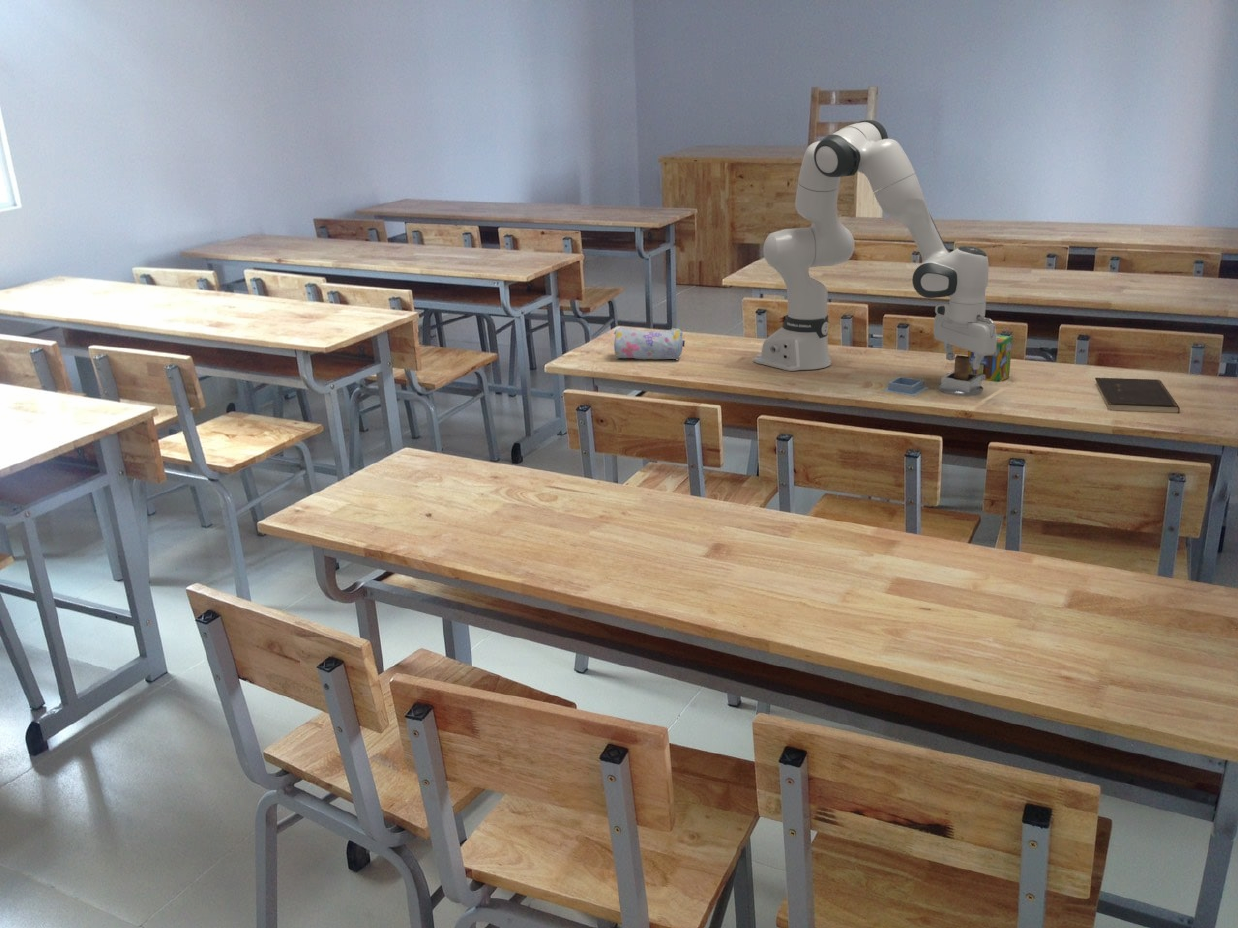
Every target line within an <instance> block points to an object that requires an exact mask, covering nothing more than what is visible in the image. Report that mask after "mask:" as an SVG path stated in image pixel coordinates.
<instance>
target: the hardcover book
mask: <svg viewBox="0 0 1238 928" xmlns="http://www.w3.org/2000/svg"><path fill="white" fill-rule="evenodd" d="M1094 380H1095V381H1096V382H1095V383H1096V384H1097V385H1096V387H1097V386H1098V387H1097V388H1099V389H1098V390H1100V391H1099V392H1100V394H1101V397H1102V399H1103V400H1104V403H1105V405H1106V407H1107V409H1108V411H1119V412H1120V411H1124V412H1126V411H1127V412H1145V413H1147V412H1149V413H1171V414H1173V413H1174V414H1179V413H1180V406H1179V404H1178V403H1177V402H1176V401H1175V399H1174V397H1173V396H1172V395H1171V394H1170V392H1169V391H1168V389H1167V387H1166V386H1165V385H1164V383H1163V381H1161V379H1153V378H1152V379H1151V378H1119V377H1118V378H1117V377H1116V378H1115V377H1095V378H1094Z"/></svg>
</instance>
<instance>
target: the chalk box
mask: <svg viewBox="0 0 1238 928" xmlns="http://www.w3.org/2000/svg"><path fill="white" fill-rule="evenodd" d="M996 336H997V347H996V352H995V353H994V354H993V355H988V356H984V358H983V359H982V361H981V362H980V368H979V369H976V370H975V369H972V368H970V366H971V362H973V361H974V359H975V357H974V352H971V351H968V350H967V356H969V357H970V362H969V373H972V374H979V375H982V378H981V381H991V382H997V383H999V382H1004V381H1005V380H1007V379H1008V378H1010V370H1011V360H1012V359H1011V357H1012V345H1013V336H1011V335H1002V334H997V333H996Z"/></svg>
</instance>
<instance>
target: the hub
mask: <svg viewBox="0 0 1238 928" xmlns="http://www.w3.org/2000/svg"><path fill="white" fill-rule="evenodd" d="M981 378H982V375H979V374H972V373H969V375H968V381H966V380H960V379H954V370H952V371H951V372H949V373H947V374H946V375H944V376H942V377H941V381H940V384H939V385H938V390H939V392H941V393H943V394H947V395H951V396H958V397H959V396H962V397H965V396H966V397H968V396H970V397H971V396H976V395H979V394H982V393H983V392H984V386H982V379H981Z"/></svg>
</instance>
